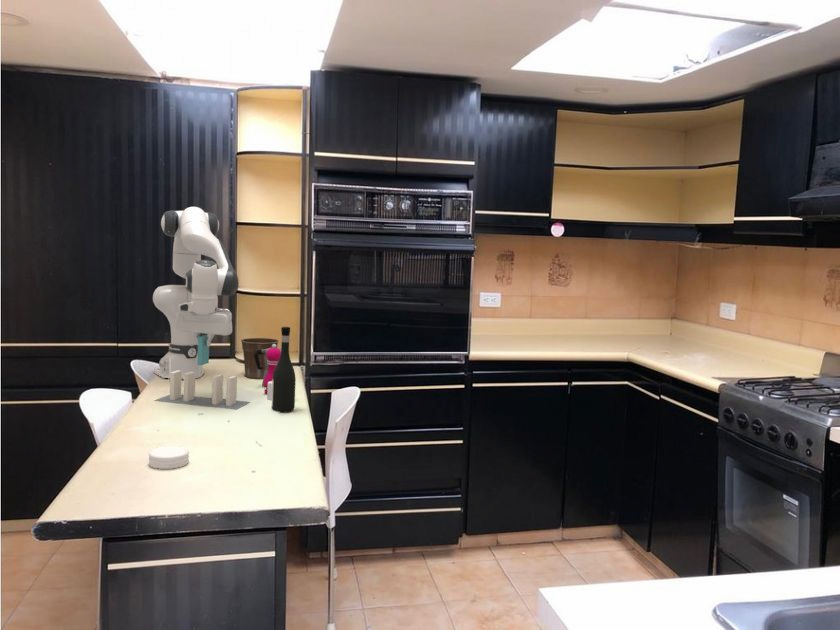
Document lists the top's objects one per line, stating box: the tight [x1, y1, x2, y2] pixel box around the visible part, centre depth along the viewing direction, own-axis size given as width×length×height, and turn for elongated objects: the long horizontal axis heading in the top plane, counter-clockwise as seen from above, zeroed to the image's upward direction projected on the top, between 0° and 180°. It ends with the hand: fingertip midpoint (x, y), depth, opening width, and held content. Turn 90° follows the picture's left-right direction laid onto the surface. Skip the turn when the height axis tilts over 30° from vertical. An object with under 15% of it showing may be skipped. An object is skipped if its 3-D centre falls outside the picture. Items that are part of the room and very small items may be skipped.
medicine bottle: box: [266, 371, 274, 402], centre depth 252 cm, size 7×7×12 cm
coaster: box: [148, 445, 190, 470], centre depth 178 cm, size 10×10×4 cm
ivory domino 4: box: [225, 375, 238, 406], centre depth 241 cm, size 2×5×10 cm, turn 169°
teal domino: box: [197, 334, 210, 366], centre depth 237 cm, size 2×5×10 cm, turn 170°
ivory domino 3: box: [211, 373, 224, 405], centre depth 242 cm, size 2×5×10 cm, turn 169°
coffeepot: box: [254, 343, 281, 388], centre depth 275 cm, size 15×9×18 cm, turn 129°
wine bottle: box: [271, 326, 297, 413], centre depth 237 cm, size 8×8×30 cm
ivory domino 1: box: [169, 370, 182, 400], centre depth 245 cm, size 2×5×10 cm, turn 169°
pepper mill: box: [263, 344, 281, 395], centre depth 261 cm, size 7×7×20 cm
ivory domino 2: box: [182, 372, 196, 402], centre depth 244 cm, size 2×5×10 cm, turn 170°
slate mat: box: [153, 394, 251, 411], centre depth 243 cm, size 32×12×1 cm, turn 79°
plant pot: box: [240, 337, 280, 380], centre depth 293 cm, size 16×16×16 cm
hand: (203, 345), depth 236 cm, fingers closed on teal domino, 2 cm apart
